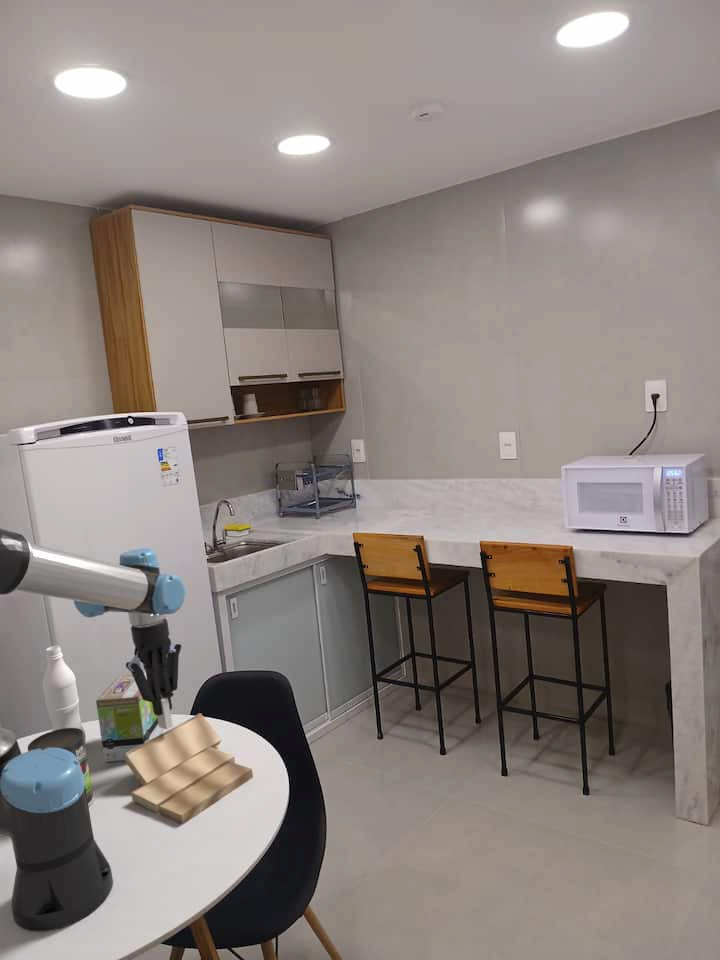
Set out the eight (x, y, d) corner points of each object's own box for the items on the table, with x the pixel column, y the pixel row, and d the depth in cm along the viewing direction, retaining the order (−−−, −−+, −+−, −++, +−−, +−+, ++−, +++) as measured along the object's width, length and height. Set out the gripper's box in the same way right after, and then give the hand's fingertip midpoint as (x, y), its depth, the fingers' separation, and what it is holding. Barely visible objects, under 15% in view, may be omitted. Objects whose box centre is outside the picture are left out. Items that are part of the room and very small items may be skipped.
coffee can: (104, 791, 152) (93, 726, 150) (75, 821, 142) (63, 752, 140) (60, 791, 154) (48, 727, 152) (28, 820, 144) (15, 752, 142)
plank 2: (157, 813, 141) (156, 804, 141) (132, 800, 146) (131, 791, 146) (235, 763, 156) (234, 755, 156) (209, 753, 161) (208, 746, 161)
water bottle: (47, 757, 170) (29, 653, 167) (68, 742, 177) (50, 642, 174) (73, 758, 168) (55, 653, 165) (93, 743, 175) (76, 642, 171)
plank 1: (144, 788, 150) (147, 783, 149) (123, 758, 153) (125, 753, 152) (219, 744, 165) (221, 739, 164) (198, 717, 169) (200, 712, 168)
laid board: (183, 824, 136) (181, 814, 136) (159, 814, 141) (158, 804, 140) (253, 777, 150) (251, 768, 150) (229, 769, 155) (228, 760, 154)
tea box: (148, 759, 164) (138, 695, 162) (104, 763, 164) (93, 700, 162) (167, 727, 179) (158, 669, 177) (126, 732, 179) (116, 673, 177)
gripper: (133, 634, 149) (151, 743, 152) (184, 613, 159) (200, 717, 162) (111, 630, 154) (129, 736, 157) (162, 610, 164) (178, 711, 167)
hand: (165, 726), depth 159 cm, fingers closed
